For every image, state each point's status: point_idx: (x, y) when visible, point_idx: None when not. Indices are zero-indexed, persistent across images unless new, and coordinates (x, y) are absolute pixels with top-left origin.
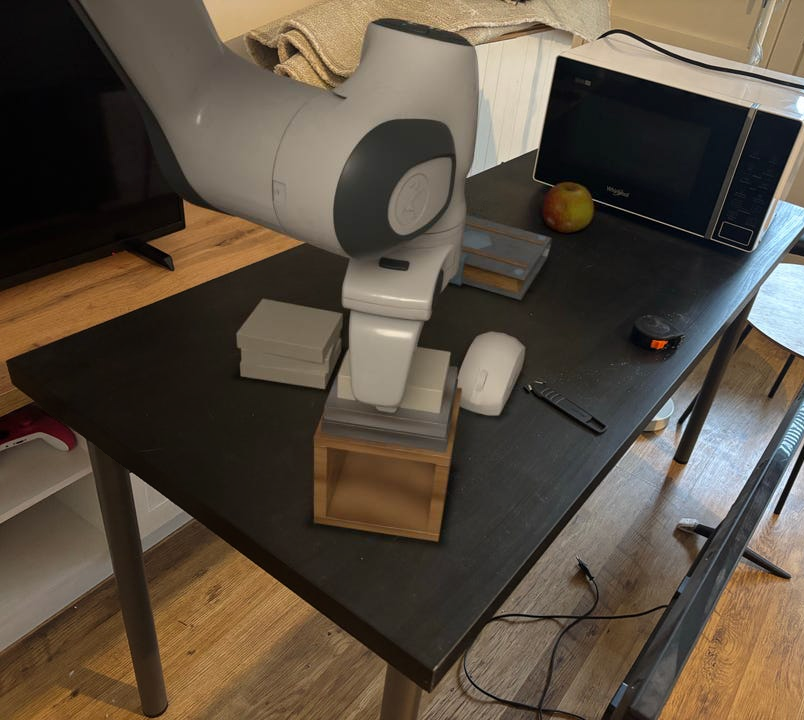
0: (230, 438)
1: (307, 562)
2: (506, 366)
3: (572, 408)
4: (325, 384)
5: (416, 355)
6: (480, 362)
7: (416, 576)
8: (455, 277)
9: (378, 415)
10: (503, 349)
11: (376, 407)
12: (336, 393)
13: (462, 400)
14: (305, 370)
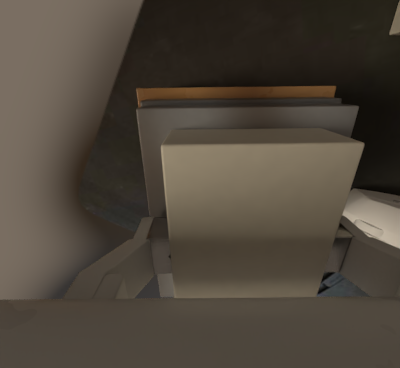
0: None
1: (121, 95)
2: None
3: (340, 275)
4: (395, 33)
5: (284, 289)
6: (395, 232)
7: (137, 186)
8: None
9: (149, 211)
10: None
11: (142, 218)
12: (186, 123)
13: (348, 201)
14: None
